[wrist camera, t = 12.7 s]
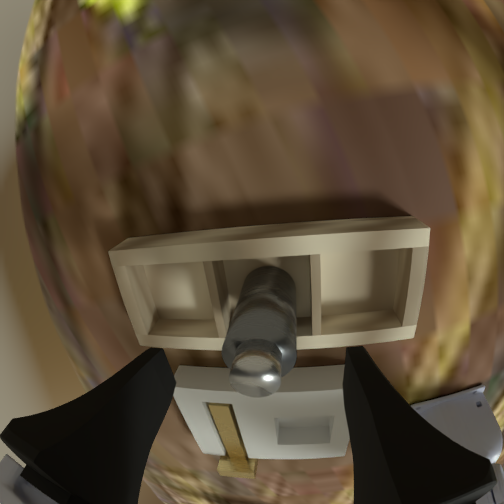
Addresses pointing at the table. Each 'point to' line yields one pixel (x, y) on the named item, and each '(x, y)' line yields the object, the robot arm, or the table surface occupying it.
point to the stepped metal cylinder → (262, 333)
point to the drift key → (232, 444)
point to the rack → (289, 259)
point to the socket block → (269, 412)
